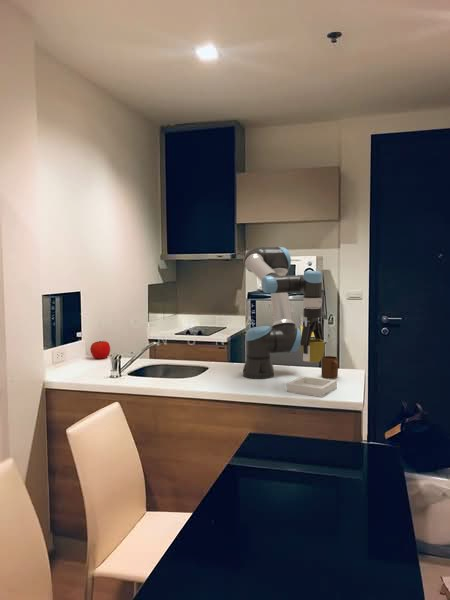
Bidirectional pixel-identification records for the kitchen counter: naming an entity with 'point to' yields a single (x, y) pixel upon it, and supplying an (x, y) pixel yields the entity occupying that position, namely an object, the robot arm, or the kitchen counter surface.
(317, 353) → the flower pot
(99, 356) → the tomato
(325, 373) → the mug
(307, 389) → the white square tray
